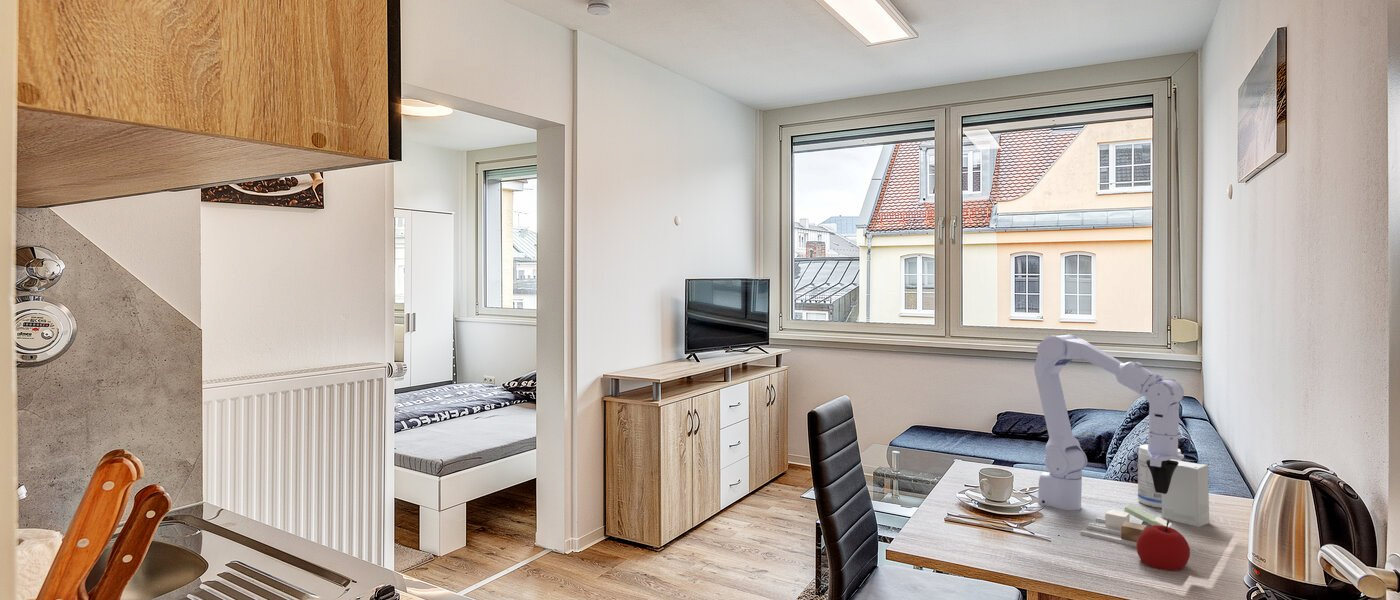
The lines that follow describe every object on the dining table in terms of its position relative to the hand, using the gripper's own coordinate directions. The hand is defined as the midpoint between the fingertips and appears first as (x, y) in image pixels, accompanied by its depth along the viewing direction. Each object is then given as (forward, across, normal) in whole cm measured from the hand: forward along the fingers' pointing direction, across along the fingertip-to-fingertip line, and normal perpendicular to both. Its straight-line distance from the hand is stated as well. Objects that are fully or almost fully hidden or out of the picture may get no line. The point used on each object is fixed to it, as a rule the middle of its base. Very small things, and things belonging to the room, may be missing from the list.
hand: (1161, 492), depth 166 cm
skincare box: (+10, +12, -3) cm, 16 cm away
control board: (+10, -6, +5) cm, 13 cm away
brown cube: (+8, -13, +2) cm, 16 cm away
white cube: (+8, -6, +7) cm, 13 cm away
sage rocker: (+6, -1, +2) cm, 7 cm away
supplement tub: (+10, +27, +6) cm, 29 cm away
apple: (+10, -23, -5) cm, 26 cm away
